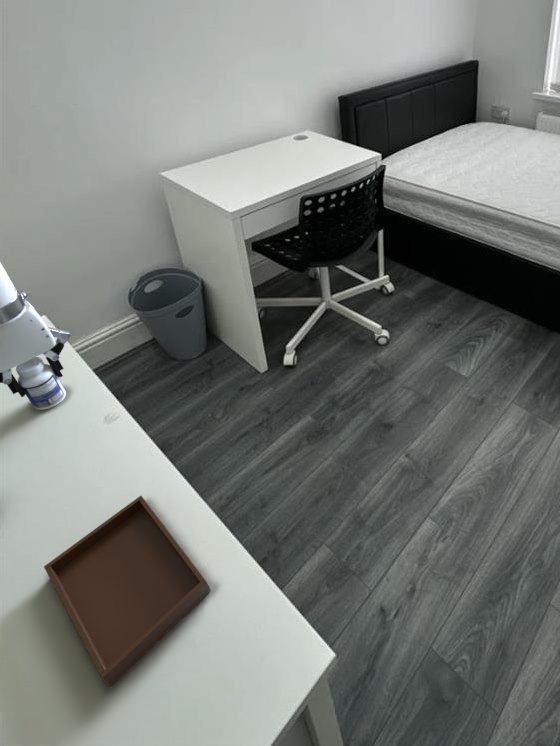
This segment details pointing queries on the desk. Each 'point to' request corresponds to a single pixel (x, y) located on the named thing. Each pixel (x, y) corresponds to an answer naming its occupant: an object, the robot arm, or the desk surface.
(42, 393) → the pill bottle
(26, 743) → the desk surface
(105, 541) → the tray
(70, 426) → the desk surface
